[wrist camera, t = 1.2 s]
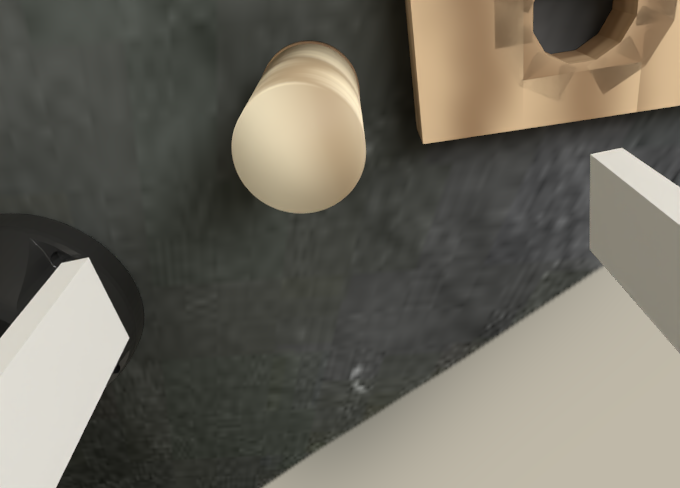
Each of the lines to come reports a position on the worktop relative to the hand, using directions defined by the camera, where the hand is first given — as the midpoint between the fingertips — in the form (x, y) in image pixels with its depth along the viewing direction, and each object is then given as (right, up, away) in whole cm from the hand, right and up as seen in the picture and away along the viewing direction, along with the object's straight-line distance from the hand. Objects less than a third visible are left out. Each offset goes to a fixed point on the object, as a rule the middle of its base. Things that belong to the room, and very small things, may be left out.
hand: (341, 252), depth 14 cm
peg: (-2, +10, +19) cm, 22 cm away
